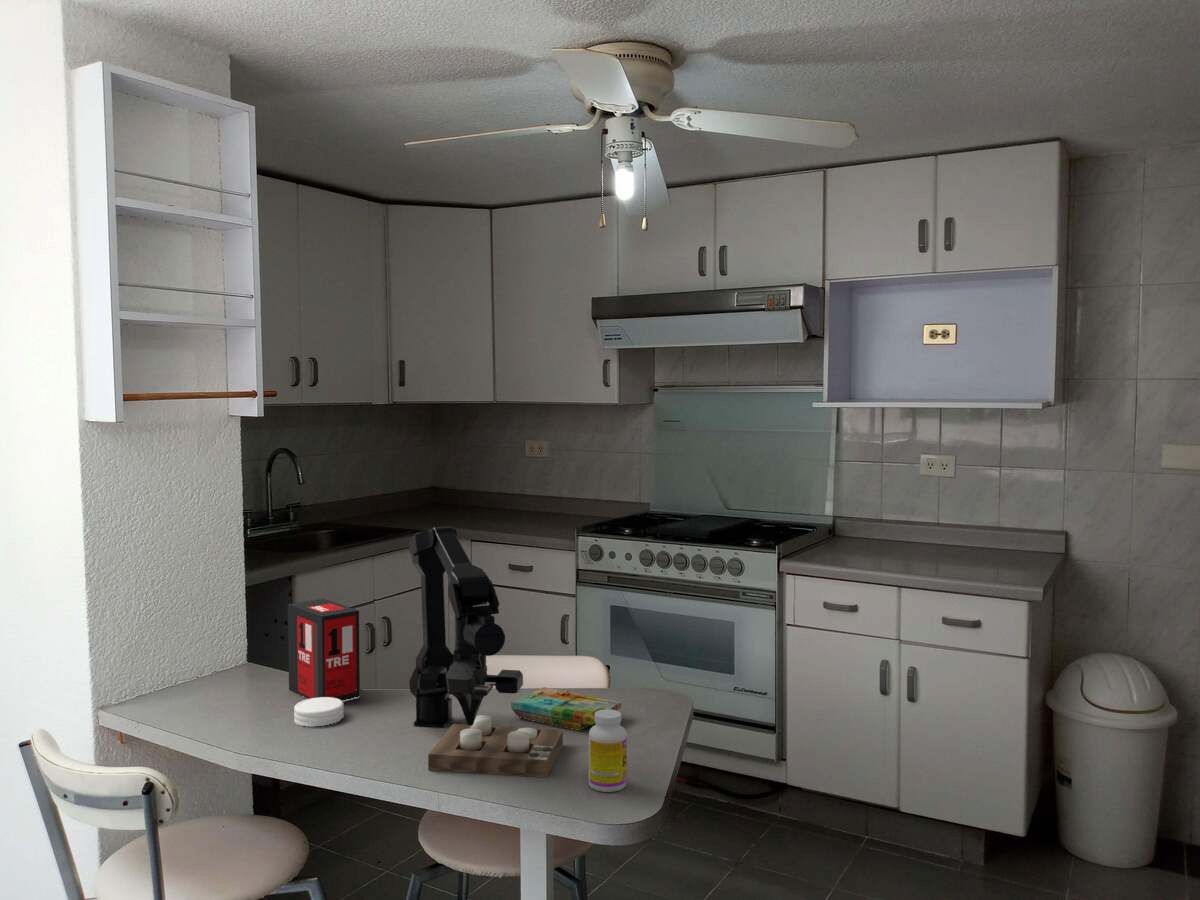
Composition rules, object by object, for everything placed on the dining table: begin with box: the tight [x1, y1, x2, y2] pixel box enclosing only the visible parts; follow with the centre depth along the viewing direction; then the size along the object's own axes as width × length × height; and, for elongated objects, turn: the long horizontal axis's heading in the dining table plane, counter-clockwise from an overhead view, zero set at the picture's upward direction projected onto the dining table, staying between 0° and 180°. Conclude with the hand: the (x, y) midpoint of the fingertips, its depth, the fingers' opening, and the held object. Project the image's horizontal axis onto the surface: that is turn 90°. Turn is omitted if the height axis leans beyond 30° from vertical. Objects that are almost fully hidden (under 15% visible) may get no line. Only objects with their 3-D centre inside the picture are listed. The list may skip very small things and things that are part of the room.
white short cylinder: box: [293, 697, 345, 728], centre depth 199 cm, size 10×10×4 cm
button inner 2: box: [517, 727, 537, 739], centre depth 182 cm, size 4×4×3 cm
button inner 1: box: [471, 714, 493, 736], centre depth 184 cm, size 4×4×3 cm
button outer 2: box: [507, 731, 529, 753], centre depth 175 cm, size 4×4×3 cm
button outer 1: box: [460, 728, 482, 750], centre depth 176 cm, size 4×4×3 cm
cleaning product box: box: [287, 598, 361, 701], centre depth 215 cm, size 16×9×20 cm, turn 43°
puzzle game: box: [510, 686, 622, 731], centre depth 200 cm, size 12×5×20 cm
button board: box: [427, 723, 564, 778], centre depth 178 cm, size 22×16×3 cm
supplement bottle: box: [588, 709, 628, 793], centre depth 165 cm, size 7×7×13 cm
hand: (470, 725), depth 176 cm, fingers closed
